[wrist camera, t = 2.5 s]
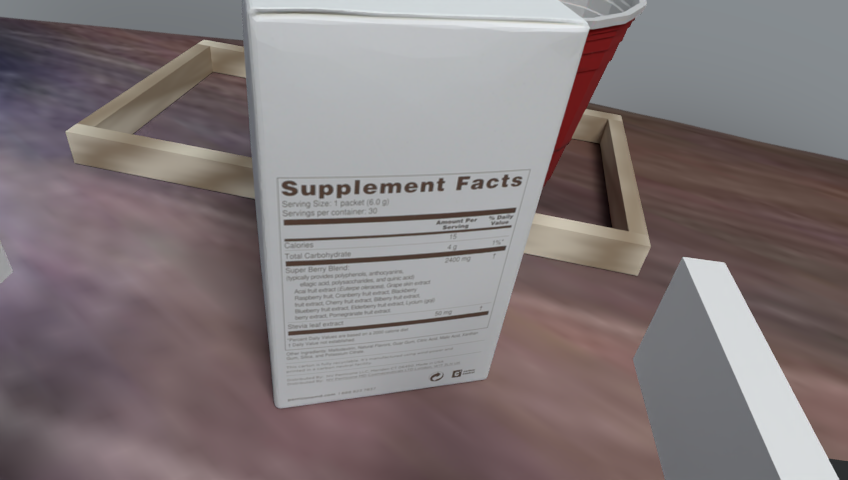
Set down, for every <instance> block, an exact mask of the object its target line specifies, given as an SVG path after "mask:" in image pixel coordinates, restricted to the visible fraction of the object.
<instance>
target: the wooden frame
mask: <svg viewBox="0 0 848 480" xmlns="http://www.w3.org/2000/svg"><path fill="white" fill-rule="evenodd" d="M212 72H217V73H223V74H228V75H233V76H239V77H244V78H246V69H245V54H244V47H241V46H236V45H230V44H225V43H219V42H214V41H208V40H203V41H201V42H199V43H198V44H196V45H195V46H193V47H192V48H190V49H189V50H187V51H186V52H184V53H183V54H181V55H180V56H178V57H177V58H175V59H174V60H172V61H171V62H169V63H168V64H166V65H165V66H163V67H162V68H160V69H159V70H157V71H156V72H154V73H153V74H151V75H150V76H148V77H147V78H145V79H144V80H142V81H141V82H139V83H138V84H136V85H135V86H133V87H132V88H130V89H129V90H127V91H126V92H124V93H123V94H121V95H120V96H118V97H117V98H115V99H114V100H112V101H111V102H109V103H107V104H106V105H104V106H103V107H101V108H100V109H98V110H97V111H95V112H94V113H92V114H91V115H89V116H88V117H86V118H85V119H83V120H82V121H80V122H79V123H77V124H76V125H74V126H73V127H71V128H70V129H68V130H67V131H65V132H66V135H67V139H68V142H69V145H70V149H71V152H72V156H73V159H74V162H75V163H78V164H83V165H88V166H93V167H98V168H103V169H108V170H113V171H118V172H122V173H127V174H132V175H137V176H142V177H147V178H152V179H157V180H162V181H167V182H172V183H177V184H182V185H187V186H192V187H197V188H202V189H207V190H212V191H217V192H222V193H227V194H232V195H237V196H242V197H247V198H252V199H255V191H254V178H253V167H252V158H251V157H246V156H240V155H235V154H230V153H225V152H220V151H215V150H210V149H205V148H200V147H194V146H189V145H184V144H179V143H174V142H169V141H164V140H159V139H153V138H148V137H143V136H138V135H133V133H135V132H136V131H137V130H138V129H140V128H141V127H142V126H144V125H145V124H146V123H147V122H149V121H150V120H151V119H153V118H154V117H155V116H156V115H158V114H159V113H160V112H162V111H163V110H164V109H165V108H167V107H168V106H169V105H171V104H172V103H173V102H175V101H176V100H177V99H178V98H180V97H181V96H182V95H184V94H185V93H186V92H187V91H189V90H190V89H191V88H193V87H194V86H195V85H196V84H198V83H199V82H200V81H202V80H203V79H204V78H205V77H207V76H208V75H209V74H211V73H212ZM572 138H573V139H578V140H583V141H589V142H594V143H599V144H600V147H601V154H602V161H603V168H604V175H605V182H606V189H607V195H608V202H609V209H610V216H611V223H612V228H609V227H604V226H598V225H593V224H588V223H583V222H578V221H573V220H568V219H563V218H557V217H552V216H547V215H542V214H537V213H535V215H534V219H533V222H532V225H531V229H530V232H529V236H528V239H527V243H526V246H525V249H524V253H526V254H531V255H536V256H541V257H546V258H551V259H556V260H561V261H566V262H571V263H576V264H581V265H586V266H591V267H596V268H601V269H606V270H611V271H616V272H621V273H626V274H631V275H636V276H638V273H639V271H640V269H641V267H642V265H643V262H644V260H645V258H646V256H647V254H648V251H649V249H650V247H651V246H650V241H649V237H648V232H647V228H646V224H645V219H644V215H643V210H642V206H641V202H640V197H639V193H638V188H637V184H636V180H635V175H634V171H633V166H632V162H631V157H630V153H629V149H628V144H627V140H626V135H625V131H624V127H623V122H622V118H621V116H620V115H615V114H609V113H604V112H598V111H593V110H587V109H586V110H585V112H584V114H583V116H582V118H581V120H580V122H579V124H578V126H577V128H576V130H575V132H574V134H573V136H572Z"/></svg>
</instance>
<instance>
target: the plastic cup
mask: <svg viewBox="0 0 848 480" xmlns="http://www.w3.org/2000/svg"><path fill="white" fill-rule="evenodd" d="M559 1H560V2H561V3H563V4H564V5H565V6H567V7H568V8H569V9H571V10H572V11H573V12H575V13H576V14H577V15H579V16H580V17H582V18H583V19H584V20H585V21H586V22H587V23H588V25H589V27H590V29H589V32H588V35H587V39H586V42H585V45H584V49H583V52H582V56H581V59H580V62H579V66H578V69H577V73H576V76H575V80H574V83H573V86H572V90H571V93H570V97H569V100H568V103H567V107H566V110H565V113H564V117H563V120H562V124H561V127H560V130H559V134H558V137H557V141H556V144H555V147H554V151H553V154H552V158H551V161H550V164H549V168H548V171H547V174H546V178H545V181H544V184H543V187H544V186H545V184H546V182H547V180H549V179H550V177H551V175H552V173H553V171H554V169H555V167H556V165H557V163H558V161H559V159H560V157H561V155H562V153H563V151H564V149H565V147H566V145H568V144H569V142H570V140H571V138H572V136H573V134H574V132H575V130H576V128H577V126H578V124H579V122H580V120H581V118H582V116H583V114H584V112H585V110H586V108H587V105H588V103H589V101H590V99H591V97H592V95H593V93H594V91H595V89H596V87H597V85H598V83H599V81H600V79H601V77H602V75H603V73H604V71H605V69H606V67H607V64H608V63H609V61H611V60H612V58H613V55H614V53H615V51H616V49H617V47H618V45H619V42H621V41H622V40H623V37H624V35H625V33H626V31H627V28H629V27H630V25H631V23H632V21H634V20H635V17H637V16H639V15H640V14H641V13H642V12H643V10H644V8H645V7H646V0H559Z"/></svg>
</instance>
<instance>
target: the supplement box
mask: <svg viewBox="0 0 848 480" xmlns="http://www.w3.org/2000/svg"><path fill="white" fill-rule="evenodd" d="M242 17H243V37H244V54H245V69H246V83H247V97H248V111H249V127H250V142H251V152H252V167H253V178H254V191H255V204H256V216H257V227H258V238H259V249H260V260H261V271H262V281H263V291H264V301H265V311H266V320H267V330H268V340H269V350H270V361H271V372H272V384H273V396H274V403H275V406H276V407H277V408H288V407H295V406H302V405H309V404H317V403H324V402H331V401H338V400H344V399H352V398H359V397H366V396H374V395H381V394H388V393H395V392H401V391H408V390H415V389H422V388H429V387H436V386H443V385H449V384H456V383H463V382H470V381H477V380H484V379H486V378H487V376H488V373H489V369H490V366H491V362H492V359H493V356H494V352H495V349H496V345H497V342H498V338H499V335H500V331H501V328H502V325H503V321H504V318H505V314H506V311H507V308H508V304H509V301H510V297H511V294H512V290H513V287H514V284H515V280H516V277H517V273H518V270H519V266H520V263H521V260H522V256H523V253H524V249H525V246H526V243H527V239H528V236H529V232H530V229H531V225H532V222H533V219H534V215H535V212H536V208H537V205H538V202H539V198H540V195H541V191H542V188H543V184H544V181H545V178H546V174H547V171H548V168H549V164H550V161H551V158H552V154H553V151H554V147H555V144H556V141H557V137H558V134H559V130H560V127H561V124H562V120H563V117H564V113H565V110H566V107H567V103H568V100H569V97H570V93H571V90H572V86H573V83H574V80H575V76H576V73H577V69H578V66H579V62H580V59H581V56H582V52H583V49H584V45H585V42H586V39H587V35H588V32H589V29H590V27H589V25H588V23H587V22H586V21H585V20H584V19H583V18H582V17H580V16H579V15H577V14H576V13H575V12H573V11H572V10H571V9H569V8H568V7H567V6H565V5H564V4H563V3H561V2H560V1H559V0H242Z"/></svg>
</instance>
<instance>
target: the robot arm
mask: <svg viewBox="0 0 848 480" xmlns="http://www.w3.org/2000/svg"><path fill="white" fill-rule="evenodd" d="M12 272H13V270H12V268H11V265H10V263H9V260H8V258H7V256H6V253H5V251H4V249H3V246H2V244H1V241H0V284H1V283H2V282H3V281H4V280H5V279H6V278H7V277H8V276H9V275H10V274H11V273H12ZM633 361H634V365H635V369H636V372H637V376H638V380H639V384H640V387H641V391H642V395H643V399H644V402H645V406H646V410H647V414H648V417H649V421H650V425H651V429H652V432H653V436H654V440H655V444H656V447H657V451H658V455H659V459H660V462H661V466H662V470H663V474H664V477H665V480H848V461H842V460H835V459H828V457H827V455H826V453H825V452H824V450H823V448H822V446H821V444H820V442H819V440H818V438H817V436H816V435H815V433H814V431H813V429H812V427H811V425H810V423H809V421H808V419H807V417H806V416H805V414H804V412H803V410H802V408H801V406H800V404H799V402H798V400H797V399H796V397H795V395H794V393H793V391H792V389H791V387H790V385H789V383H788V382H787V380H786V378H785V376H784V374H783V372H782V370H781V368H780V366H779V364H778V363H777V361H776V359H775V357H774V355H773V353H772V351H771V349H770V347H769V346H768V344H767V342H766V340H765V338H764V336H763V334H762V332H761V330H760V328H759V327H758V325H757V323H756V321H755V319H754V317H753V315H752V313H751V311H750V310H749V308H748V306H747V304H746V302H745V300H744V298H743V296H742V294H741V293H740V291H739V289H738V287H737V285H736V283H735V281H734V279H733V277H732V275H731V274H730V272H729V270H728V268H727V266H726V264H725V263H723V262H715V261H708V260H701V259H694V258H687V257H682V259H681V261H680V263H679V266H678V268H677V270H676V272H675V274H674V276H673V278H672V280H671V282H670V284H669V286H668V288H667V290H666V292H665V294H664V296H663V298H662V300H661V303H660V305H659V307H658V309H657V311H656V313H655V315H654V317H653V319H652V321H651V323H650V325H649V327H648V329H647V331H646V333H645V335H644V337H643V340H642V342H641V344H640V346H639V348H638V350H637V352H636V354H635V356H634V358H633Z"/></svg>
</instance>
